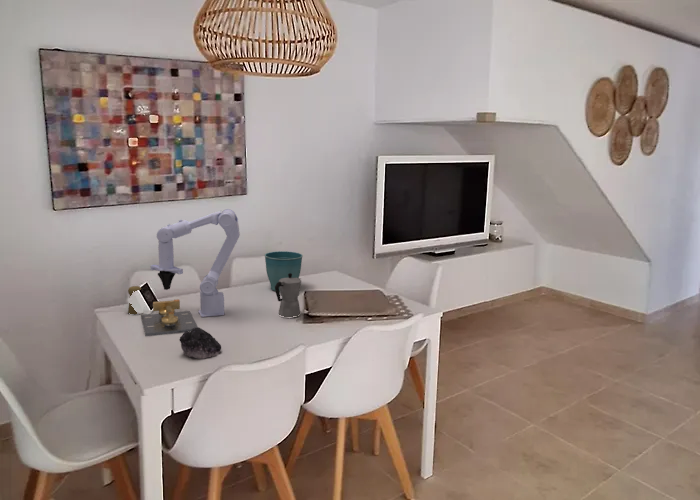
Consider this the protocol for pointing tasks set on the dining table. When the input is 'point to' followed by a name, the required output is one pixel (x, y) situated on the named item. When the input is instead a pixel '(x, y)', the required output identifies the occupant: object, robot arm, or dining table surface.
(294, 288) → the coffeepot
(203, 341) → the crystal cluster
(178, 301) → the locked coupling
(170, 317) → the brass lever handle
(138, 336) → the dining table surface
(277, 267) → the flower pot
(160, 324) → the plate
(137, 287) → the cork
